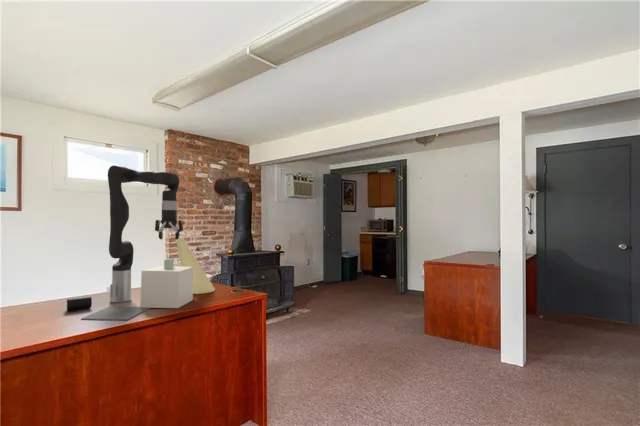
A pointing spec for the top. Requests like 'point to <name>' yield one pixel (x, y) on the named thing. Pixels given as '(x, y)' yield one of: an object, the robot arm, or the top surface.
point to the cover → (166, 286)
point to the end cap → (79, 303)
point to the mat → (116, 313)
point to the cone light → (188, 260)
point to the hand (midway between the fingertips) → (168, 239)
